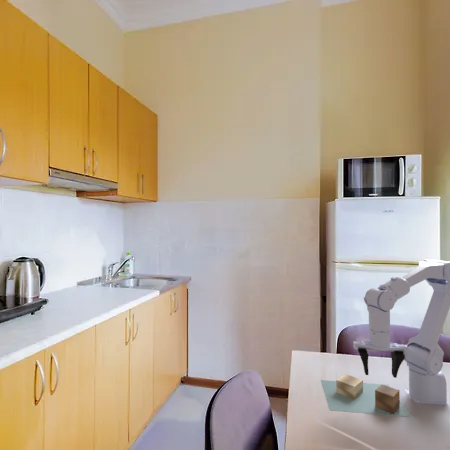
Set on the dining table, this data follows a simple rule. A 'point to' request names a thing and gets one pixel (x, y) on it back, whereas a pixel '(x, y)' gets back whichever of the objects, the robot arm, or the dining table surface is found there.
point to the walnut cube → (387, 399)
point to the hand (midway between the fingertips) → (380, 374)
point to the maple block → (349, 386)
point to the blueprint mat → (357, 400)
